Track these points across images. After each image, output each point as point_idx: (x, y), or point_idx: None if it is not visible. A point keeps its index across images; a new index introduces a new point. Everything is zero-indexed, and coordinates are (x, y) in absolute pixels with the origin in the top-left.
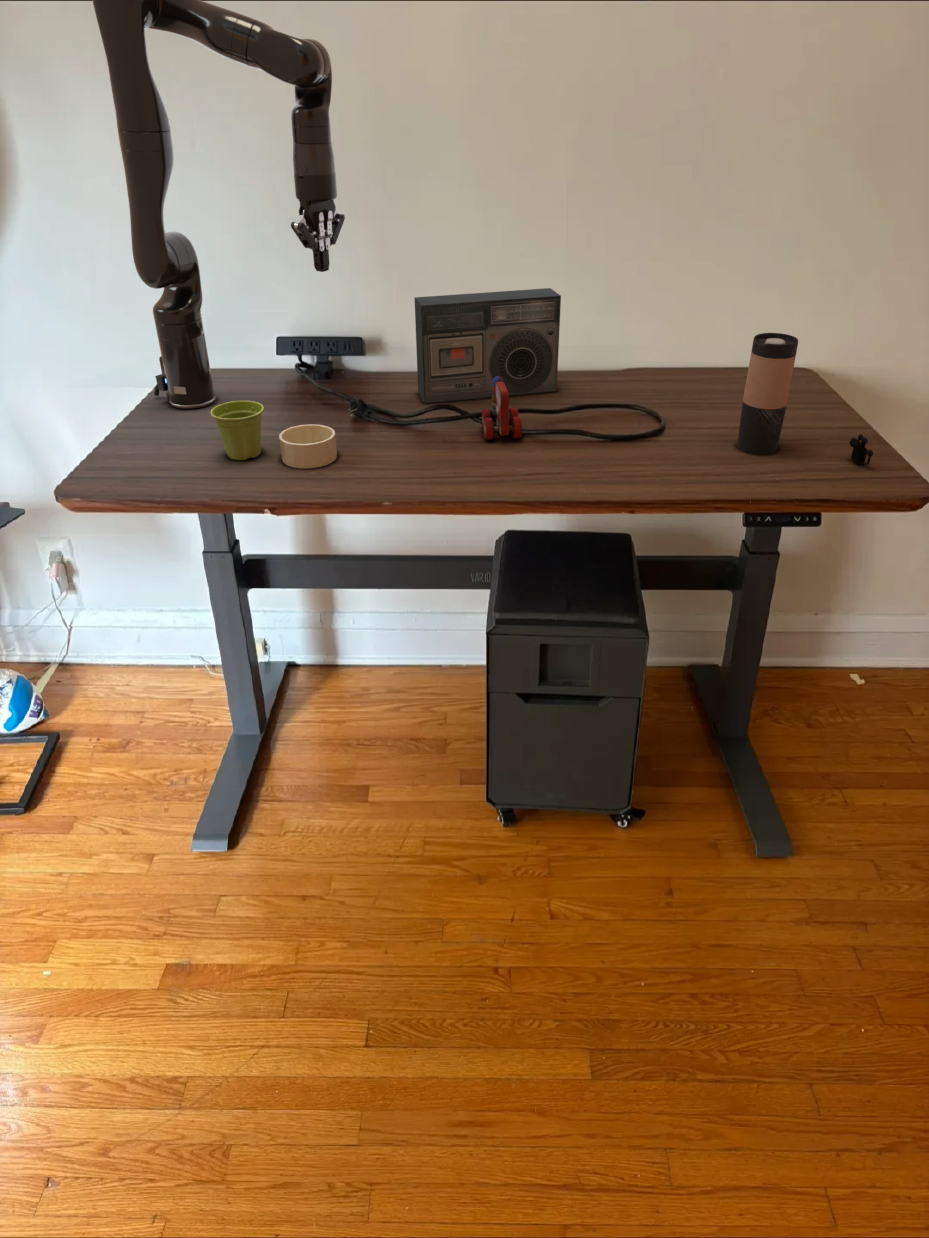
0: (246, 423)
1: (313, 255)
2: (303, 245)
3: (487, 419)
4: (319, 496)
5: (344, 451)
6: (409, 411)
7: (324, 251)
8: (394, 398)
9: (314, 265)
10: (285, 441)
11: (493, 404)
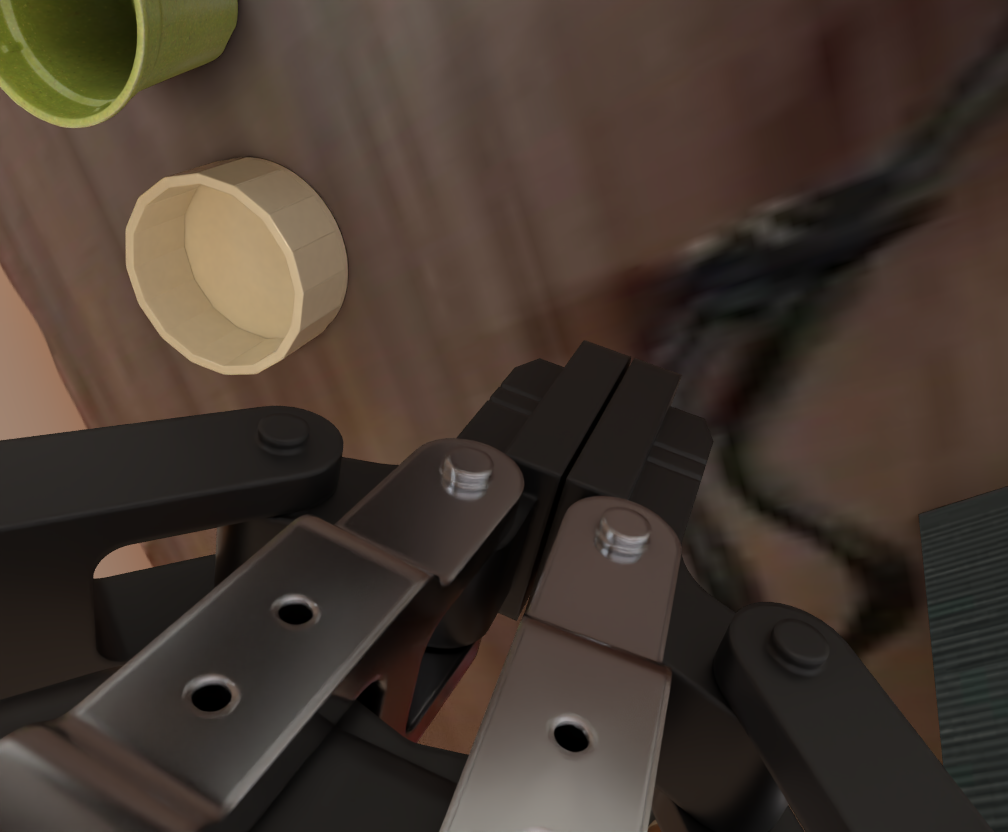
0: (38, 85)
1: (461, 434)
2: (225, 415)
3: None
4: (88, 381)
5: (353, 347)
6: (805, 471)
7: (508, 613)
8: (985, 368)
9: (513, 375)
10: (130, 231)
11: (650, 824)
